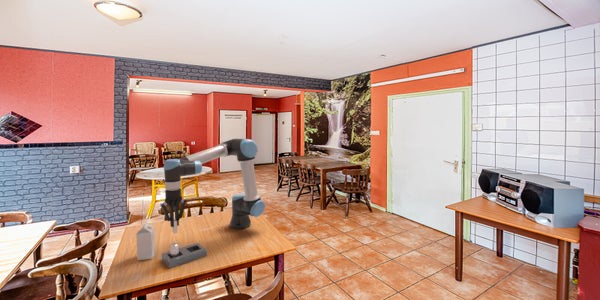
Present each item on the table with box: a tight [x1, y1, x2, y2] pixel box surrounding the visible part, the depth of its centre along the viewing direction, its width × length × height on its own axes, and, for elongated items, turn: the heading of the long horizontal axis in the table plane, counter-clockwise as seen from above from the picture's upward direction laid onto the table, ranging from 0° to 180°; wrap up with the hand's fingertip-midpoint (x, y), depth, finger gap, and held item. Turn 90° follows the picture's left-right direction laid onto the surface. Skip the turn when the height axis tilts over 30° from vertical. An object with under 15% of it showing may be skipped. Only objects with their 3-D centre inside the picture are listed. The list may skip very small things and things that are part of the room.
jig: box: [161, 242, 208, 269], centre depth 146 cm, size 20×12×4 cm, turn 134°
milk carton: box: [135, 221, 156, 261], centre depth 145 cm, size 7×7×19 cm
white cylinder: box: [169, 242, 180, 258], centre depth 142 cm, size 4×4×9 cm
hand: (175, 232), depth 141 cm, fingers closed
